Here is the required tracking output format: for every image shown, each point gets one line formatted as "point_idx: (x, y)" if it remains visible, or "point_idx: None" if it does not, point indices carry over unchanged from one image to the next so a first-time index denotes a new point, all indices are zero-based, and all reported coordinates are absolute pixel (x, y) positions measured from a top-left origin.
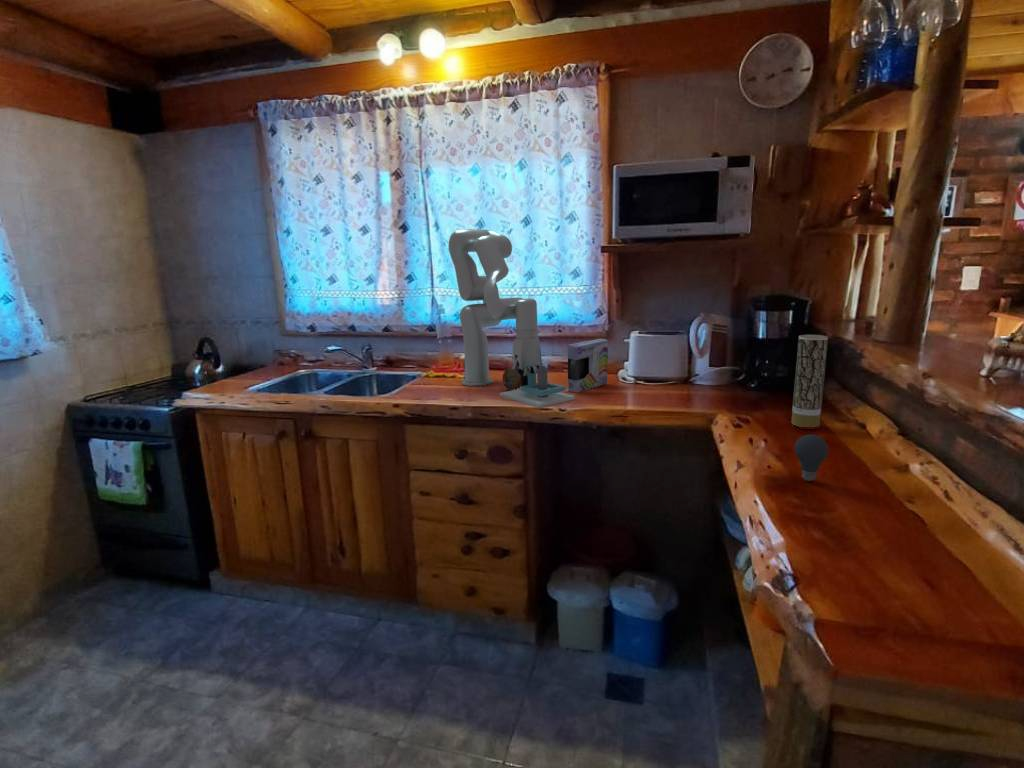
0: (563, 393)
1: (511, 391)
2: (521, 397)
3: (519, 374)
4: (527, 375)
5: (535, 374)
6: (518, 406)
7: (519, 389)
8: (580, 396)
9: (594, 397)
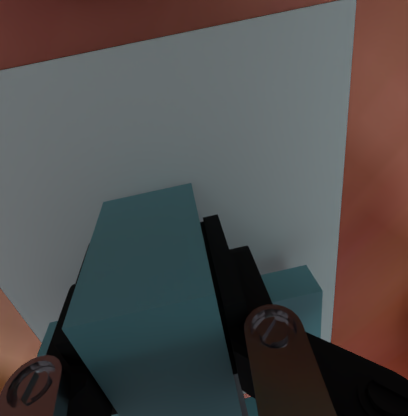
0: (326, 328)
1: (21, 107)
2: (55, 314)
3: (16, 382)
4: (126, 411)
5: (234, 411)
6: (10, 371)
7: (136, 69)
8: (379, 332)
9: (400, 360)
